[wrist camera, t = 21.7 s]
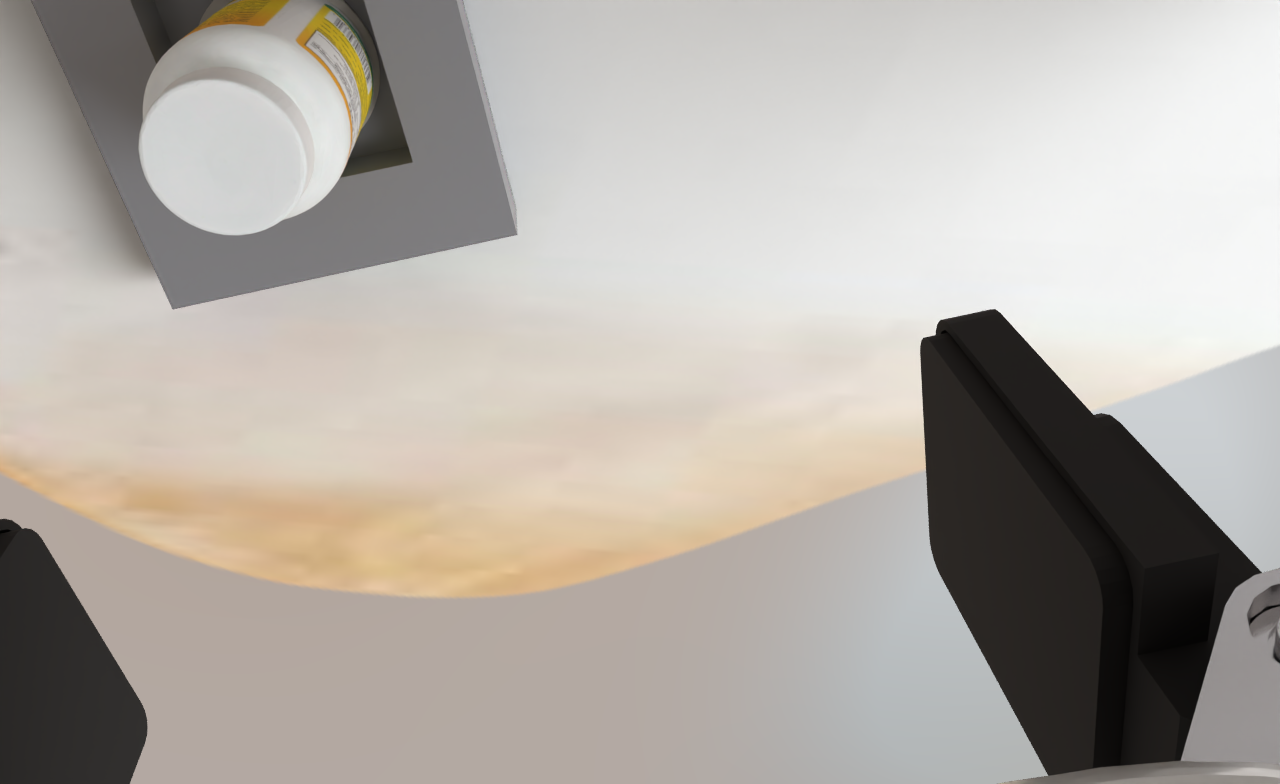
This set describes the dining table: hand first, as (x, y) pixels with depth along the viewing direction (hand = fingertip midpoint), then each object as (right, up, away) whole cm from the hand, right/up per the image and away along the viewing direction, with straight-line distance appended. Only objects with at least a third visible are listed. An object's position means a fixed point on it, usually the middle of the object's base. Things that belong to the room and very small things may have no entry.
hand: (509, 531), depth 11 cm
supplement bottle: (-10, +12, +23) cm, 28 cm away
